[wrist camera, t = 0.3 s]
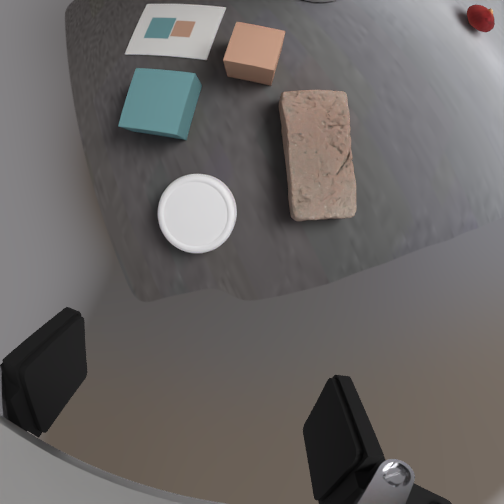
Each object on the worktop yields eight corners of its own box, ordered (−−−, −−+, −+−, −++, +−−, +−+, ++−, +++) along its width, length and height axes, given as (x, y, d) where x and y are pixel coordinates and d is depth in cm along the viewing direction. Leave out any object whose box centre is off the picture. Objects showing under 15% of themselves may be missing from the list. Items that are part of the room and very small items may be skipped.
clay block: (238, 41, 32) (236, 21, 26) (281, 50, 32) (285, 31, 27) (227, 76, 33) (223, 60, 28) (271, 86, 34) (274, 70, 28)
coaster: (244, 238, 39) (243, 244, 36) (175, 255, 40) (168, 261, 36) (227, 165, 37) (224, 164, 33) (156, 185, 37) (147, 186, 34)
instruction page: (147, 4, 30) (146, 3, 29) (226, 8, 30) (226, 7, 30) (125, 54, 32) (124, 54, 32) (206, 60, 33) (206, 59, 32)
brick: (348, 215, 38) (360, 219, 34) (288, 219, 38) (293, 225, 34) (336, 98, 34) (346, 88, 30) (276, 99, 35) (279, 88, 30)
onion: (484, 32, 28) (506, 21, 20) (474, 39, 29) (498, 27, 21) (466, 9, 27) (487, -4, 19) (455, 15, 28) (477, 0, 20)
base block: (148, 79, 33) (136, 68, 28) (202, 85, 34) (195, 73, 29) (133, 131, 35) (118, 126, 30) (186, 140, 36) (176, 134, 31)
